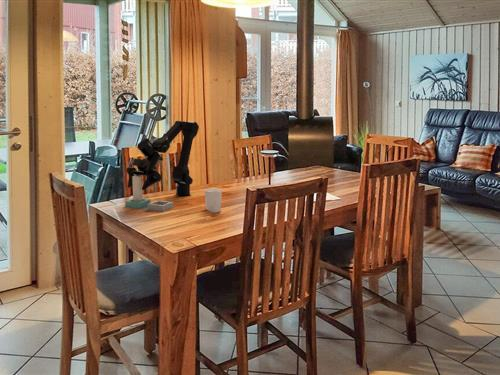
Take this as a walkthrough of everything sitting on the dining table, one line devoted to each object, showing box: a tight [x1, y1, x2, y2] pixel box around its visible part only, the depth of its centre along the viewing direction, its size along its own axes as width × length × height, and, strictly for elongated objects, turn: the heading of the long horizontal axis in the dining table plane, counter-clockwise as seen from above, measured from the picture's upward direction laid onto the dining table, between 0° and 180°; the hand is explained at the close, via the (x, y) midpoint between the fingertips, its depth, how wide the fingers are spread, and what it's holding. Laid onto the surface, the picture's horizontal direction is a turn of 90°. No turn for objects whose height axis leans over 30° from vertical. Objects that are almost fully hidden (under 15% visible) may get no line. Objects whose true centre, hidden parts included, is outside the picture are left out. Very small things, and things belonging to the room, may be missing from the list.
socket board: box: [123, 198, 175, 213], centre depth 245 cm, size 22×11×4 cm, turn 66°
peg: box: [132, 175, 144, 202], centre depth 246 cm, size 4×4×14 cm
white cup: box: [204, 187, 223, 214], centre depth 241 cm, size 8×8×10 cm
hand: (135, 188), depth 245 cm, fingers open, 9 cm apart
